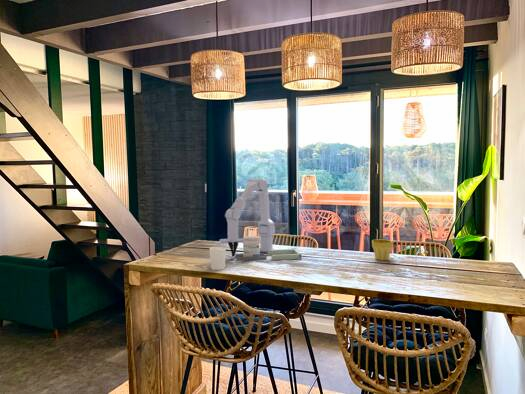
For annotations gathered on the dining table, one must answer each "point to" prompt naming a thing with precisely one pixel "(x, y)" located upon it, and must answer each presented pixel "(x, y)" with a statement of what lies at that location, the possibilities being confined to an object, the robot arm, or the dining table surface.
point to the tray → (284, 254)
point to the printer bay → (240, 256)
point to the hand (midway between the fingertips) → (233, 256)
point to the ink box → (251, 246)
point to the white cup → (217, 258)
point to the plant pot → (382, 248)
